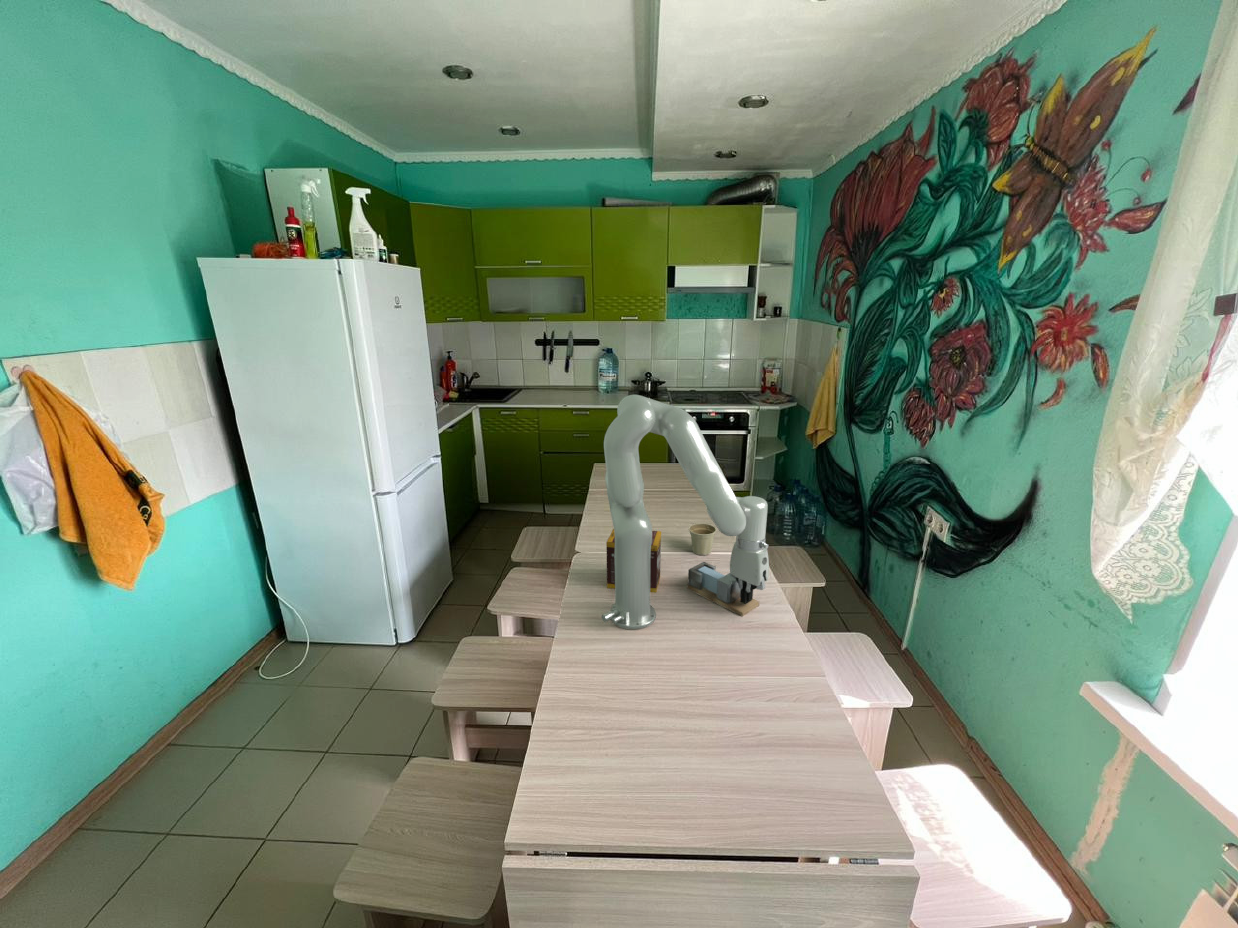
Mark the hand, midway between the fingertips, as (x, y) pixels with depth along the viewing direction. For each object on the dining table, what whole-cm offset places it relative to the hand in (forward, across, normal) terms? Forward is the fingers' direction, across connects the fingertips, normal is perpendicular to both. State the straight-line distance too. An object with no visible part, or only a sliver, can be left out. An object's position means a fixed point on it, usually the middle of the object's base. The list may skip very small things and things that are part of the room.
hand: (745, 601), depth 145 cm
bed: (+2, +8, 0) cm, 8 cm away
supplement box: (+3, +32, +13) cm, 34 cm away
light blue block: (+1, +11, 0) cm, 11 cm away
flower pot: (+3, +31, -18) cm, 36 cm away
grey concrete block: (+1, +5, 0) cm, 5 cm away
